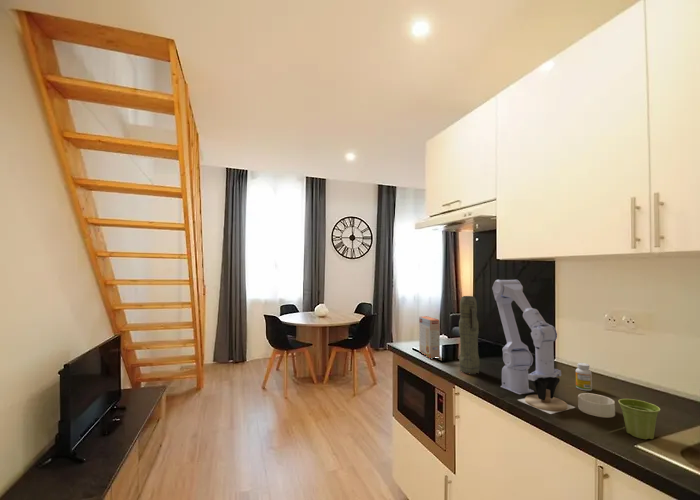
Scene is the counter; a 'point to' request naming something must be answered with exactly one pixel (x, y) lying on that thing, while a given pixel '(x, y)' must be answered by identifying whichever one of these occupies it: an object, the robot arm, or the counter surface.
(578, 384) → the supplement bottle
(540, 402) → the lid
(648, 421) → the plant pot
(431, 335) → the cracker box
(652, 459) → the counter surface
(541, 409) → the mat
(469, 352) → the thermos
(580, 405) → the bowl
